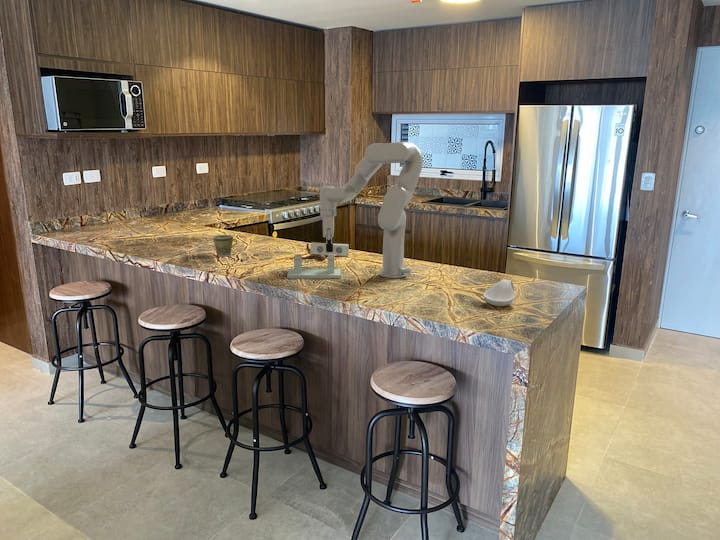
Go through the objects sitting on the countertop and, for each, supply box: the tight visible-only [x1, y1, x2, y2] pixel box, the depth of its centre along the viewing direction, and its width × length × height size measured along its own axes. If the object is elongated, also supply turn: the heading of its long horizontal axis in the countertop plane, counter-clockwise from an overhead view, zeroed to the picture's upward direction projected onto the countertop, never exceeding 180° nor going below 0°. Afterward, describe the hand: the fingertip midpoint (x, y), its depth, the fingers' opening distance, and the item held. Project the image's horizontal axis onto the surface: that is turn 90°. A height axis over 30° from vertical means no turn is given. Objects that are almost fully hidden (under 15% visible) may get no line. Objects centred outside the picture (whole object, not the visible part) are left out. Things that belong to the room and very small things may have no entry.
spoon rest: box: [483, 278, 516, 307], centre depth 216 cm, size 24×12×7 cm, turn 154°
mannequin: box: [290, 242, 349, 261], centre depth 288 cm, size 26×29×4 cm
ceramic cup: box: [212, 234, 238, 258], centre depth 283 cm, size 13×10×10 cm
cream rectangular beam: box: [309, 242, 350, 257], centre depth 259 cm, size 18×4×5 cm, turn 93°
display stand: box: [286, 253, 342, 279], centre depth 248 cm, size 24×12×9 cm, turn 93°
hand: (329, 250), depth 260 cm, fingers closed on cream rectangular beam, 3 cm apart
